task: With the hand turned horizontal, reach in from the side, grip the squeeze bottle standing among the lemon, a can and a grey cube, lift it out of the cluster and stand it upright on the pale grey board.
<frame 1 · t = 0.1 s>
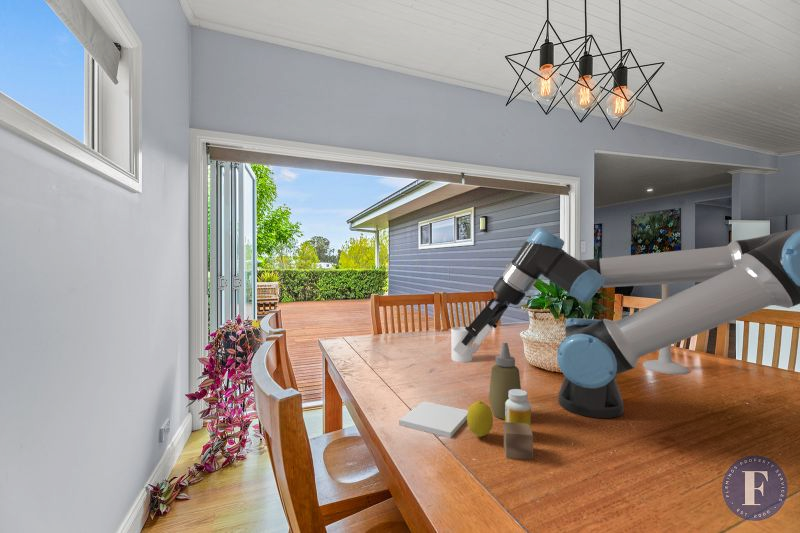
hand: (467, 347, 99), 15 cm above the table, tool tilted 35°, fingers open, 13 cm apart
lemon: (480, 438, 80), on the table
candlestick: (664, 369, 128), on the table
mug: (466, 359, 142), on the table
grey cube: (517, 453, 74), on the table
squeeze bottle: (505, 415, 91), on the table
supplement bottle: (517, 435, 81), on the table
grey board: (435, 420, 89), on the table
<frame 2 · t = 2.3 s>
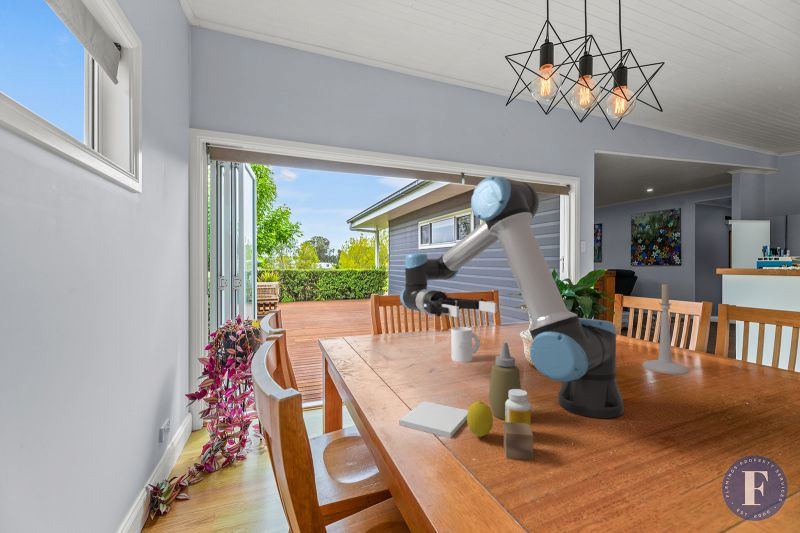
hand: (477, 310, 99), 25 cm above the table, tool horizontal, fingers open, 13 cm apart
nothing on the table moved.
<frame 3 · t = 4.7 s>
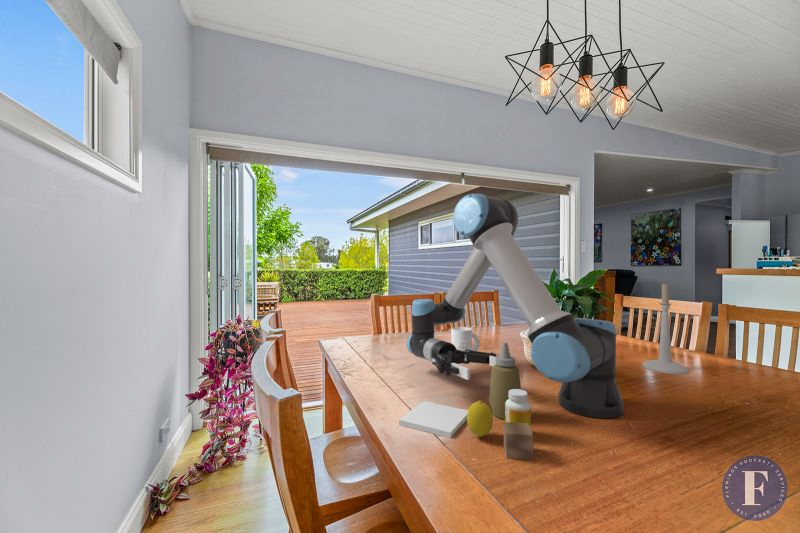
hand: (488, 370, 96), 10 cm above the table, tool horizontal, fingers open, 13 cm apart
nothing on the table moved.
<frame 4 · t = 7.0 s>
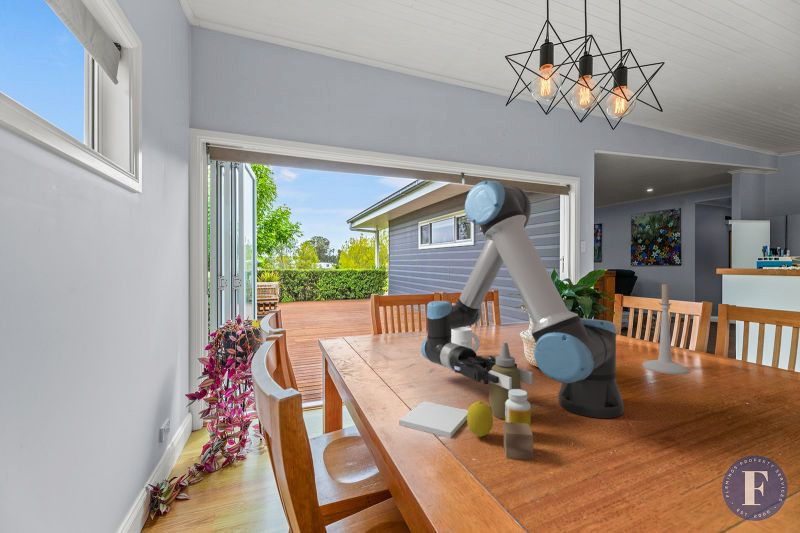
hand: (521, 380, 87), 10 cm above the table, tool horizontal, fingers closed on squeeze bottle, 6 cm apart
squeeze bottle: (505, 415, 91), on the table, touching gripper
everything else where it was.
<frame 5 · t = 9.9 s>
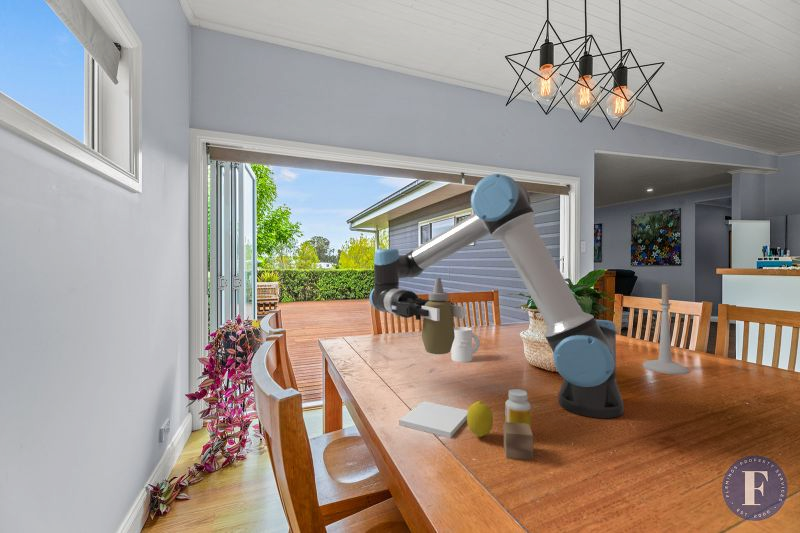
hand: (450, 313, 85), 26 cm above the table, tool horizontal, fingers closed on squeeze bottle, 6 cm apart
squeeze bottle: (438, 352, 89), point 16 cm above the table, touching gripper
everything else where it was.
when the fingers open (13 cm above the table, at t = 12.9 s): squeeze bottle drops 1 cm, resting on grey board.
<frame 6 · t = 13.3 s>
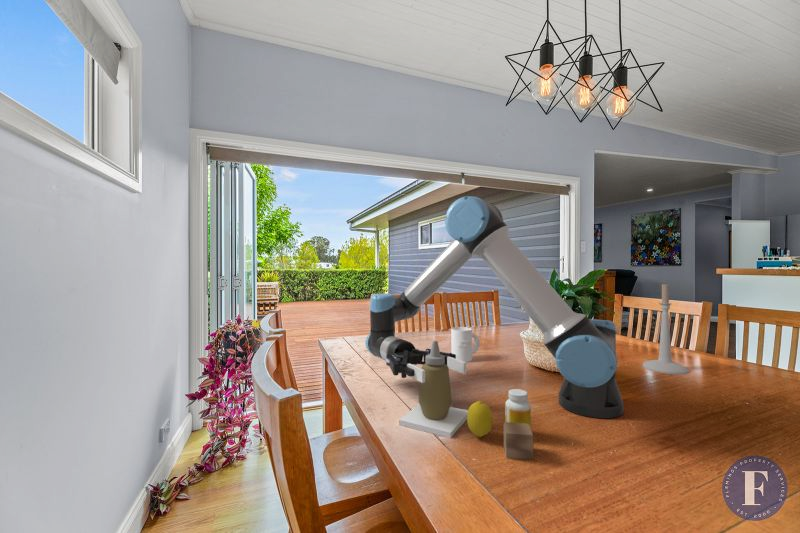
hand: (445, 372, 85), 13 cm above the table, tool horizontal, fingers open, 11 cm apart
squeeze bottle: (435, 415, 89), point 1 cm above the table, touching grey board
everything else where it was.
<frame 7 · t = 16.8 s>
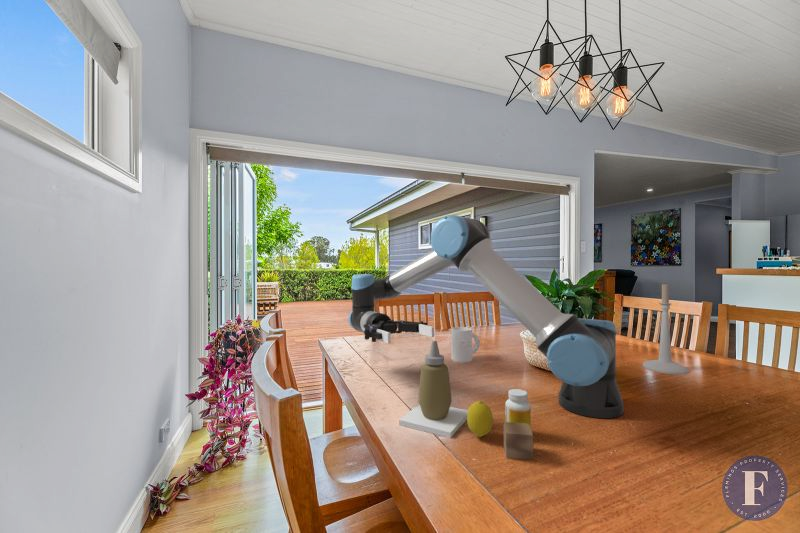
hand: (412, 335, 97), 19 cm above the table, tool horizontal, fingers open, 13 cm apart
nothing on the table moved.
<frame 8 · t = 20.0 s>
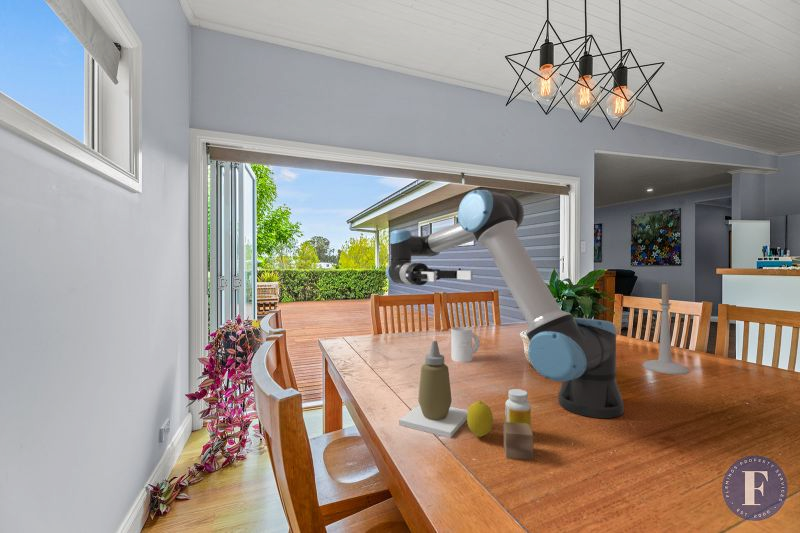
hand: (453, 276, 107), 34 cm above the table, tool horizontal, fingers open, 13 cm apart
nothing on the table moved.
at the end: squeeze bottle inside the target area on the grey board (0.1 cm from its centre), point 1.0 cm above the grey board's base; squeeze bottle tilted 0°; the gripper is holding nothing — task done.
